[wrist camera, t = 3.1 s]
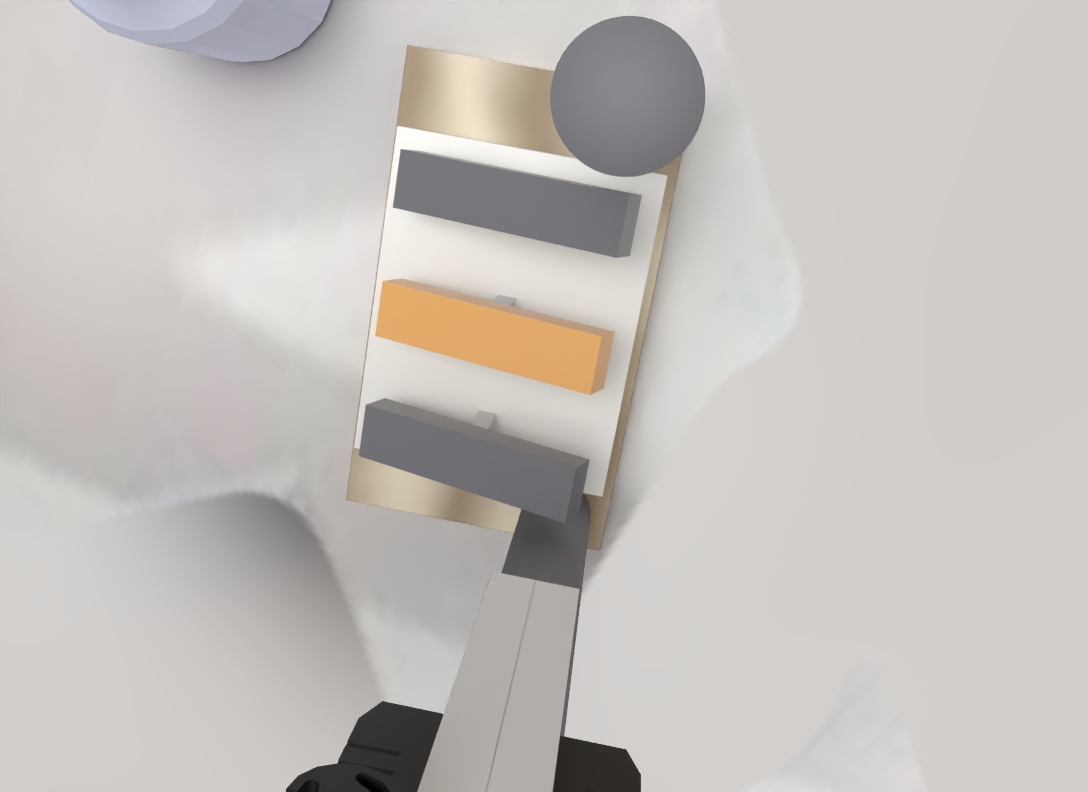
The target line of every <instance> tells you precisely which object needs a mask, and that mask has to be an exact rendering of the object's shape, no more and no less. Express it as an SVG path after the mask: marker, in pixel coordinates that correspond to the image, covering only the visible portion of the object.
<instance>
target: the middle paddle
mask: <svg viewBox="0 0 1088 792" xmlns="http://www.w3.org/2000/svg"><path fill="white" fill-rule="evenodd" d="M614 334H615V332H614V331H610V330H606V329H602V328H598V327H594V326H590V325H586V324H582V323H578V322H574V321H570V320H566V319H562V318H558V317H554V316H550V315H546V314H542V313H538V312H534V311H530V310H526V309H522V308H518V307H514V306H510V305H506V304H502V303H498V302H494V301H490V300H486V299H482V298H478V297H474V296H470V295H466V294H462V293H458V292H454V291H450V290H446V289H442V288H438V287H434V286H430V285H426V284H422V283H418V282H414V281H411V280H407V279H403V278H401V279H393V280H385V281H383V282H382V289H381V297H380V304H379V311H378V318H377V326H376V333H375V336H378V337H381V338H385V339H389V340H392V341H396V342H400V343H403V344H407V345H410V346H414V347H418V348H421V349H425V350H429V351H432V352H436V353H439V354H443V355H447V356H450V357H454V358H457V359H461V360H465V361H468V362H472V363H476V364H479V365H483V366H486V367H490V368H494V369H497V370H501V371H505V372H508V373H512V374H515V375H519V376H523V377H526V378H530V379H534V380H537V381H541V382H544V383H548V384H552V385H555V386H559V387H562V388H566V389H570V390H573V391H577V392H581V393H584V394H588V395H592V394H594V393H596V392H598V391H600V390H602V389H604V385H605V380H606V375H607V369H608V364H609V359H610V354H611V349H612V344H613V339H614Z"/></svg>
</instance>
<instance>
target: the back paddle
mask: <svg viewBox="0 0 1088 792" xmlns="http://www.w3.org/2000/svg"><path fill="white" fill-rule="evenodd" d="M359 456H360V457H363V458H366V459H369V460H372V461H375V462H378V463H381V464H385V465H388V466H391V467H394V468H397V469H400V470H403V471H406V472H409V473H412V474H415V475H418V476H421V477H425V478H428V479H431V480H434V481H437V482H440V483H443V484H446V485H449V486H452V487H455V488H458V489H461V490H464V491H468V492H471V493H474V494H477V495H480V496H483V497H486V498H489V499H492V500H495V501H498V502H501V503H504V504H508V505H511V506H514V507H517V508H520V509H523V510H526V511H529V512H532V513H535V514H538V515H541V516H544V517H548V518H551V519H554V520H557V521H560V522H563V523H566V522H568V521H569V520H570V519H572V518H573V517H574V516H575V515H577V514H578V513H579V511H580V506H581V501H582V496H583V491H584V486H585V481H586V476H587V471H588V466H589V460H590V459H586V458H583V457H580V456H576V455H573V454H570V453H566V452H563V451H560V450H556V449H553V448H550V447H546V446H543V445H540V444H536V443H533V442H530V441H526V440H523V439H520V438H516V437H513V436H510V435H506V434H503V433H500V432H496V431H493V430H490V429H486V428H483V427H480V426H476V425H473V424H470V423H466V422H463V421H460V420H456V419H453V418H450V417H446V416H443V415H439V414H436V413H433V412H429V411H426V410H423V409H419V408H416V407H413V406H409V405H406V404H403V403H399V402H396V401H393V400H389V399H386V398H384V399H381V400H378V401H375V402H372V403H369V404H366V406H365V414H364V421H363V428H362V436H361V443H360V450H359Z"/></svg>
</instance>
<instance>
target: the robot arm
mask: <svg viewBox="0 0 1088 792" xmlns="http://www.w3.org/2000/svg"><path fill="white" fill-rule="evenodd" d="M578 595H579V589H577V588H572V587H567V586H562V585H557V584H552V583H547V582H542V581H538V580H533V579H528V578H523V577H518V576H513V575H508V574H503V573H498V572H493V571H492V574H491V577H490V580H489V583H488V586H487V589H486V592H485V595H484V598H483V600H482V603H481V606H480V609H479V612H478V615H477V618H476V621H475V624H474V627H473V630H472V633H471V636H470V639H469V642H468V644H467V647H466V650H465V653H464V656H463V659H462V662H461V665H460V668H459V671H458V674H457V677H456V680H455V683H454V685H453V688H452V691H451V694H450V697H449V700H448V703H447V706H446V709H445V712H444V714H441V713H436V712H431V711H427V710H422V709H417V708H412V707H408V706H403V705H398V704H393V703H388V702H384V701H382V702H381V703H379V704H378V705H377V706H375V707H374V708H373V709H371V710H370V711H368V712H367V713H366V714H364V715H363V716H361V717H360V718H359V719H358V721H357V723H356V725H355V727H354V729H353V731H352V733H351V735H350V737H349V739H348V743H347V745H346V746H345V748H344V750H343V752H342V754H341V756H340V758H339V761H338V764H332V765H326V766H320V767H316V768H313V769H311V770H309V771H307V772H305V773H303V774H301V775H299V776H298V777H297V778H296V779H295V780H294V781H293V782H292V783H291V784H290V785H289V786H288V787H287V789H286V792H641V774H640V773H639V771H638V769H637V768H636V766H635V764H634V762H633V761H632V759H631V757H630V755H629V754H628V752H627V750H626V749H621V748H616V747H611V746H606V745H602V744H597V743H592V742H588V741H582V740H578V739H573V738H568V737H564V736H560V731H561V724H562V716H563V709H564V701H565V694H566V686H567V678H568V671H569V663H570V656H571V648H572V641H573V633H574V626H575V618H576V611H577V603H578Z"/></svg>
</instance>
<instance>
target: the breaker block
mask: <svg viewBox="0 0 1088 792" xmlns="http://www.w3.org/2000/svg"><path fill="white" fill-rule="evenodd" d="M401 149H407V150H417V151H423V152H428V153H433V154H438V155H443V156H448V157H453V158H458V159H463V160H468V161H473V162H478V163H483V164H488V165H493V166H498V167H503V168H508V169H513V170H518V171H523V172H528V173H533V174H538V175H543V176H548V177H553V178H558V179H563V180H568V181H573V182H578V183H583V184H588V185H593V186H598V187H603V188H608V189H613V190H618V191H623V192H628V193H633V194H638V195H642V198H641V203H640V208H639V213H638V218H637V223H636V228H635V233H634V238H633V243H632V248H631V253H630V256H627V257H620V258H615V257H611V256H606V255H602V254H597V253H593V252H588V251H584V250H579V249H575V248H571V247H566V246H562V245H557V244H553V243H548V242H544V241H539V240H535V239H531V238H526V237H522V236H517V235H513V234H508V233H504V232H499V231H495V230H490V229H486V228H482V227H477V226H473V225H468V224H464V223H459V222H455V221H450V220H446V219H441V218H437V217H433V216H428V215H424V214H419V213H415V212H410V211H406V210H401V209H397V208H393V201H394V194H395V187H396V179H397V172H398V165H399V157H400V150H401ZM667 176H668V175H667V174H662V173H657V172H652V173H648V174H645V175H641V176H634V177H618V176H611V175H607V174H603V173H600V172H598V171H596V170H593V169H591V168H590V167H588V166H586V165H585V164H583V163H582V162H581V161H579V160H578V159H577V158H575V157H570V156H564V155H559V154H554V153H548V152H543V151H537V150H532V149H526V148H521V147H515V146H510V145H505V144H499V143H494V142H488V141H483V140H477V139H472V138H466V137H461V136H456V135H450V134H445V133H439V132H434V131H428V130H423V129H417V128H412V127H405V126H397V132H396V140H395V147H394V154H393V162H392V169H391V177H390V184H389V191H388V199H387V206H386V214H385V221H384V228H383V236H382V243H381V251H380V258H379V265H378V273H377V280H376V288H375V295H374V303H373V310H372V317H371V325H370V332H369V340H368V347H367V354H366V362H365V369H364V377H363V384H362V391H361V399H360V406H359V414H358V421H357V428H356V436H355V443H354V448H358V449H360V443H361V436H362V428H363V421H364V414H365V406H366V404H369V403H372V402H375V401H378V400H381V399H384V398H386V399H389V400H393V401H396V402H399V403H403V404H406V405H409V406H413V407H416V408H419V409H423V410H426V411H429V412H433V413H436V414H439V415H443V416H446V417H450V418H453V419H456V420H460V421H463V422H466V423H470V424H473V425H476V426H480V427H483V428H486V429H490V430H493V431H496V432H500V433H503V434H506V435H510V436H513V437H516V438H520V439H523V440H526V441H530V442H533V443H536V444H540V445H543V446H546V447H550V448H553V449H556V450H560V451H563V452H566V453H570V454H573V455H576V456H580V457H583V458H586V459H590V460H589V466H588V471H587V476H586V481H585V486H584V491H583V493H586V494H591V495H596V496H601V497H602V496H603V491H604V486H605V481H606V476H607V471H608V467H609V462H610V457H611V452H612V447H613V442H614V437H615V432H616V427H617V422H618V417H619V412H620V407H621V403H622V398H623V393H624V388H625V383H626V378H627V373H628V368H629V363H630V358H631V353H632V348H633V343H634V339H635V334H636V329H637V324H638V319H639V314H640V309H641V304H642V299H643V294H644V289H645V284H646V279H647V275H648V270H649V265H650V260H651V255H652V250H653V245H654V240H655V235H656V230H657V225H658V220H659V215H660V210H661V206H662V201H663V196H664V191H665V186H666V181H667ZM401 278H403V279H407V280H411V281H414V282H418V283H422V284H426V285H430V286H434V287H438V288H442V289H446V290H450V291H454V292H458V293H462V294H466V295H470V296H474V297H478V298H482V299H486V300H490V301H494V302H498V303H502V304H506V305H510V306H514V307H518V308H522V309H526V310H530V311H534V312H538V313H542V314H546V315H550V316H554V317H558V318H562V319H566V320H570V321H574V322H578V323H582V324H586V325H590V326H594V327H598V328H602V329H606V330H610V331H614V332H615V334H614V339H613V344H612V349H611V354H610V359H609V364H608V369H607V375H606V380H605V385H604V389H602V390H600V391H598V392H596V393H594V394H592V395H588V394H584V393H581V392H577V391H573V390H570V389H566V388H562V387H559V386H555V385H552V384H548V383H544V382H541V381H537V380H534V379H530V378H526V377H523V376H519V375H515V374H512V373H508V372H505V371H501V370H497V369H494V368H490V367H486V366H483V365H479V364H476V363H472V362H468V361H465V360H461V359H457V358H454V357H450V356H447V355H443V354H439V353H436V352H432V351H429V350H425V349H421V348H418V347H414V346H410V345H407V344H403V343H400V342H396V341H392V340H389V339H385V338H381V337H378V336H375V333H376V326H377V318H378V311H379V304H380V297H381V289H382V282H383V281H385V280H393V279H401Z"/></svg>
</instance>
